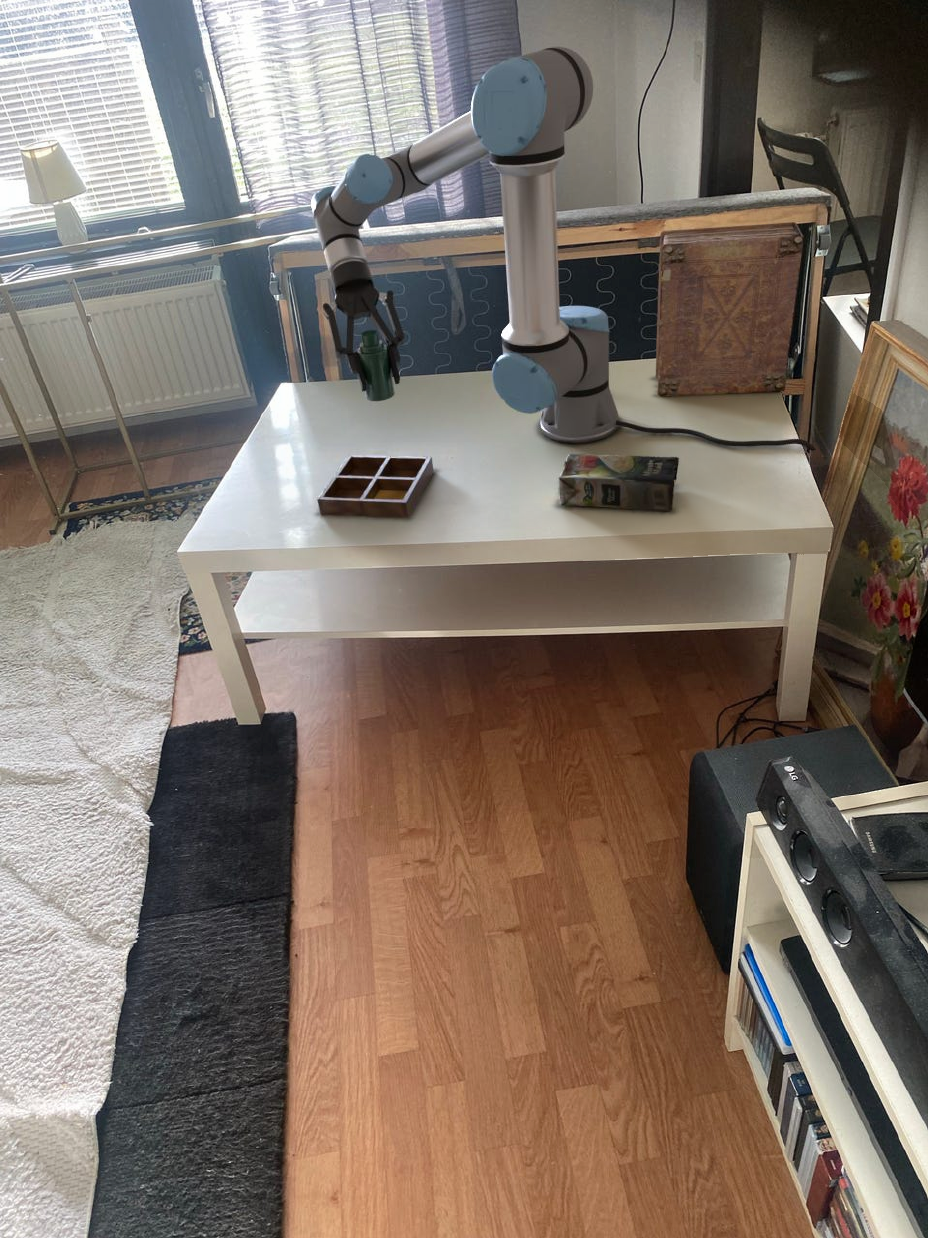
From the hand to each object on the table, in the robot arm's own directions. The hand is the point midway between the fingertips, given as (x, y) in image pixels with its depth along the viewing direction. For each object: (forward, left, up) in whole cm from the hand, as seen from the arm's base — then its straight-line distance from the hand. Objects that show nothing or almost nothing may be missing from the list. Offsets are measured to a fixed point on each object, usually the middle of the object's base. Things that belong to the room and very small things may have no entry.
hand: (381, 384), depth 166 cm
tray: (-1, +12, -16) cm, 20 cm away
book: (-60, -36, -16) cm, 71 cm away
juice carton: (-44, +11, -16) cm, 48 cm away
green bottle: (+2, -3, -4) cm, 5 cm away
